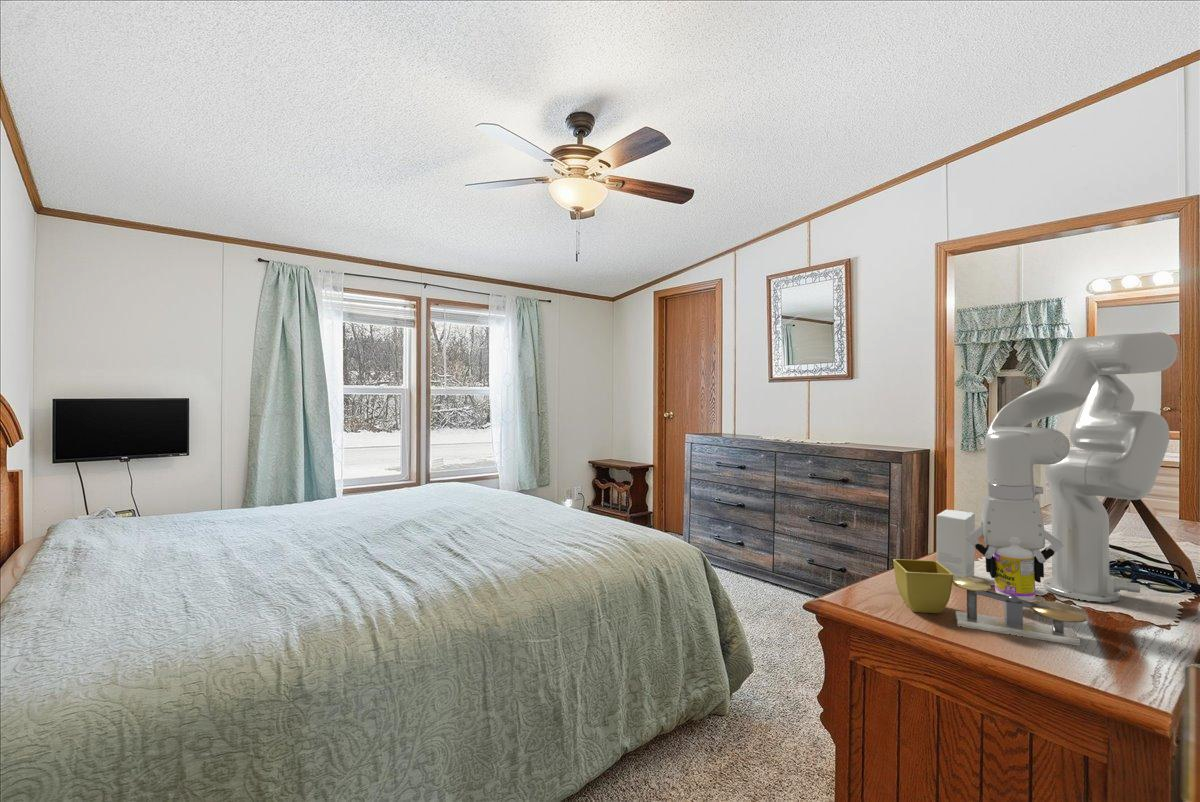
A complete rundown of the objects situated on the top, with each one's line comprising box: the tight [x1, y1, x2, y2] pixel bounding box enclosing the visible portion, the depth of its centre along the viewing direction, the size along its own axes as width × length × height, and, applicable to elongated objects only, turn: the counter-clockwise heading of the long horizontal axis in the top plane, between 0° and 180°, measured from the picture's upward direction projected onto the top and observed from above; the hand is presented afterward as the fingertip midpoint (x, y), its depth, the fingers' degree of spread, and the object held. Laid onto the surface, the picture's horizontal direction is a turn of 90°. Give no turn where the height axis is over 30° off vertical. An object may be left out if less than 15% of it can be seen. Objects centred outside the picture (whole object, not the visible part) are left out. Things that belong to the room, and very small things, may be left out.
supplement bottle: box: [993, 537, 1036, 601], centre depth 112 cm, size 7×7×13 cm
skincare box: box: [936, 508, 976, 578], centre depth 132 cm, size 8×7×16 cm
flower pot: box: [892, 558, 953, 614], centre depth 113 cm, size 9×9×9 cm
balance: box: [952, 576, 1088, 647], centre depth 102 cm, size 20×8×8 cm, turn 61°
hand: (1014, 577), depth 112 cm, fingers closed on supplement bottle, 6 cm apart
